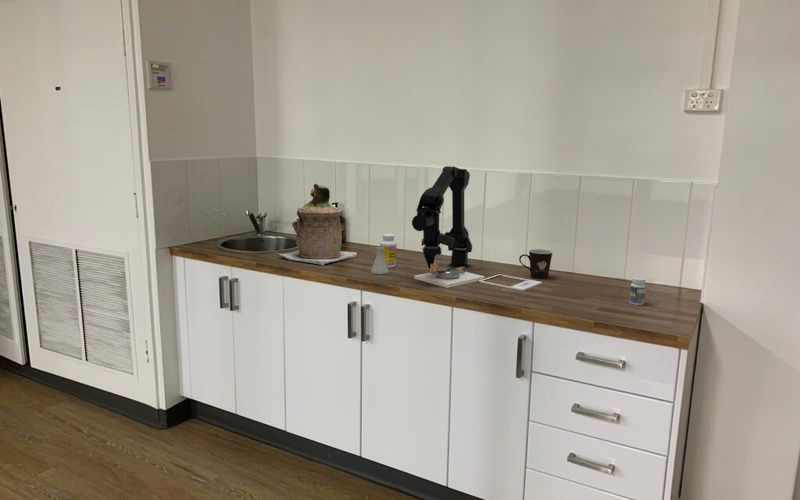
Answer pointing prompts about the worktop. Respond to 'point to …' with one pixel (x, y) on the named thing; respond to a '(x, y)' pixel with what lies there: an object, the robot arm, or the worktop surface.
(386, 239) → the supplement bottle
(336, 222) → the cookie jar
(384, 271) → the flask
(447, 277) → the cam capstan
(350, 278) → the worktop surface
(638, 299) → the pill bottle
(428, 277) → the stand
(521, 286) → the photo frame
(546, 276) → the coffee mug
